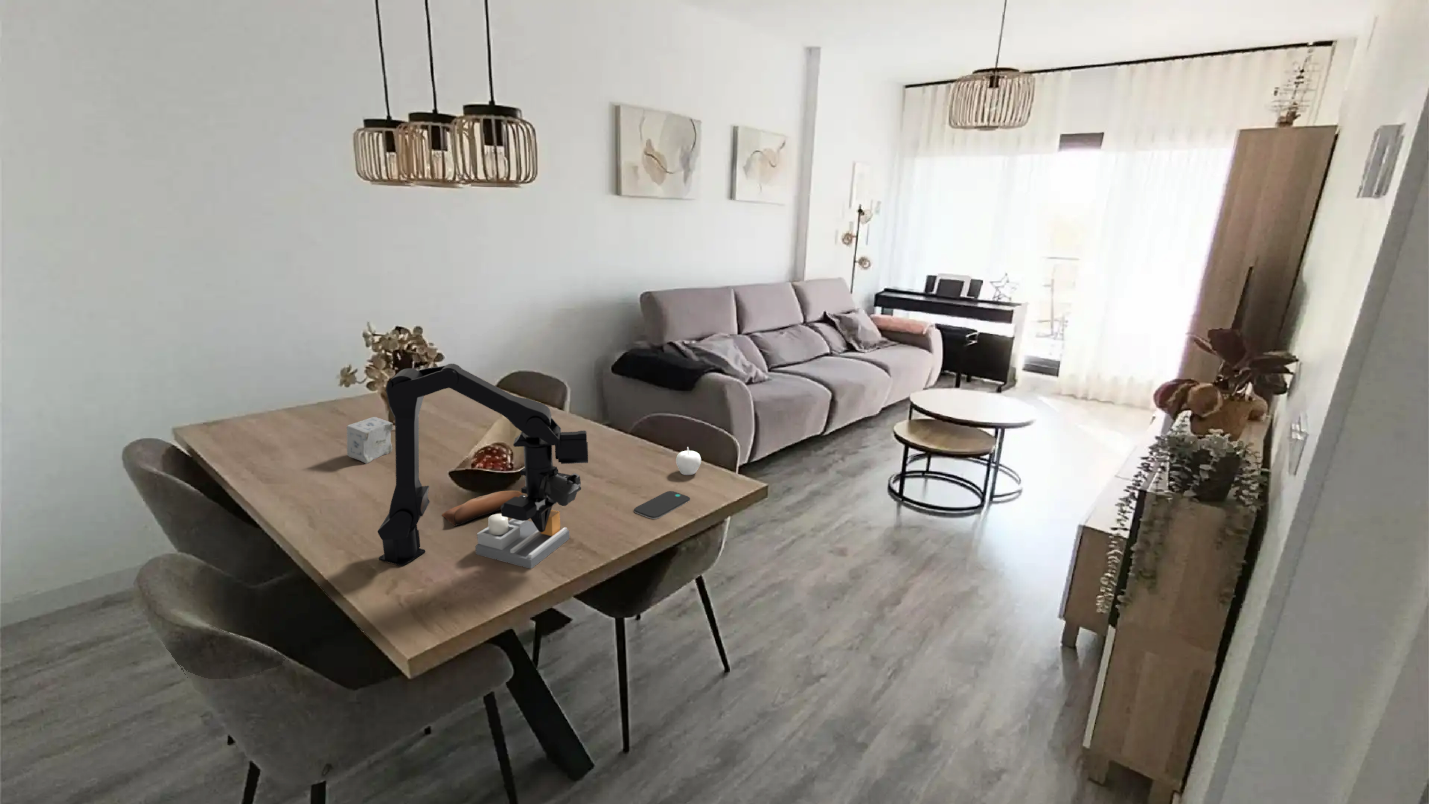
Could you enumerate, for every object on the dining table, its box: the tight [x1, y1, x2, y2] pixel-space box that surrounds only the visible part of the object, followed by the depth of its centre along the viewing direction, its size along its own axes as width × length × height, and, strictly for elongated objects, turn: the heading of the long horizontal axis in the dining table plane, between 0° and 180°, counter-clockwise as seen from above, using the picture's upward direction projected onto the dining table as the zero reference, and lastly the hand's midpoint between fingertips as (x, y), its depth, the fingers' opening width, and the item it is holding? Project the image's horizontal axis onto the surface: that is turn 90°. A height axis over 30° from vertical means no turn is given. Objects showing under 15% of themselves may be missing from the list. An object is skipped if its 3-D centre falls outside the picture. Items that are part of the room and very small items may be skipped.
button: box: [487, 513, 509, 535], centre depth 140 cm, size 4×4×3 cm
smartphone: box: [633, 490, 691, 520], centre depth 165 cm, size 8×1×15 cm
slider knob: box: [541, 509, 561, 536], centre depth 144 cm, size 3×3×5 cm
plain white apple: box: [675, 446, 702, 476], centre depth 184 cm, size 7×7×8 cm
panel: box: [475, 518, 571, 570], centre depth 142 cm, size 14×14×4 cm
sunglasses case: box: [441, 490, 524, 527], centre depth 158 cm, size 18×7×7 cm
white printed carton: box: [346, 416, 394, 464], centre depth 186 cm, size 10×8×10 cm
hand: (541, 531), depth 141 cm, fingers closed
